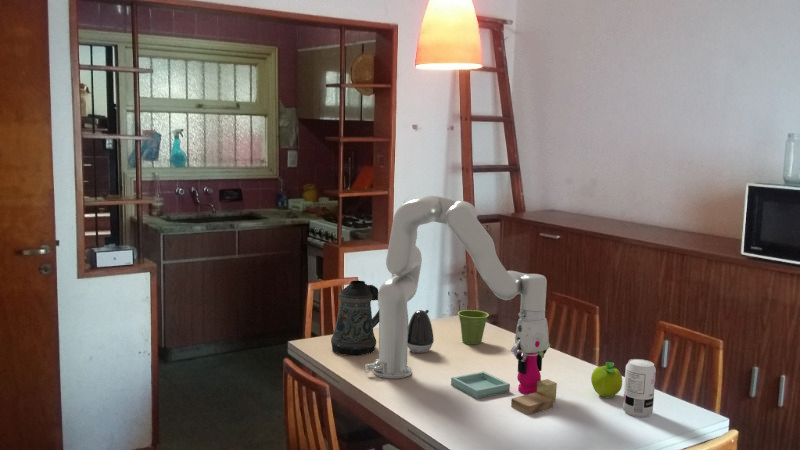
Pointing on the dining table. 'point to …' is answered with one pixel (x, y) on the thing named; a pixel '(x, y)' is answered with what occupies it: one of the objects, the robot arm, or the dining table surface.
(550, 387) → the block
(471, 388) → the tray
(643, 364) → the supplement can
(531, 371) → the pepper mill
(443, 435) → the dining table surface
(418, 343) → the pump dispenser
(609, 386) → the fruit
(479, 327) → the plant pot
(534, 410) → the flat wooden chunk
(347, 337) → the beer stein
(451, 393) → the dining table surface
